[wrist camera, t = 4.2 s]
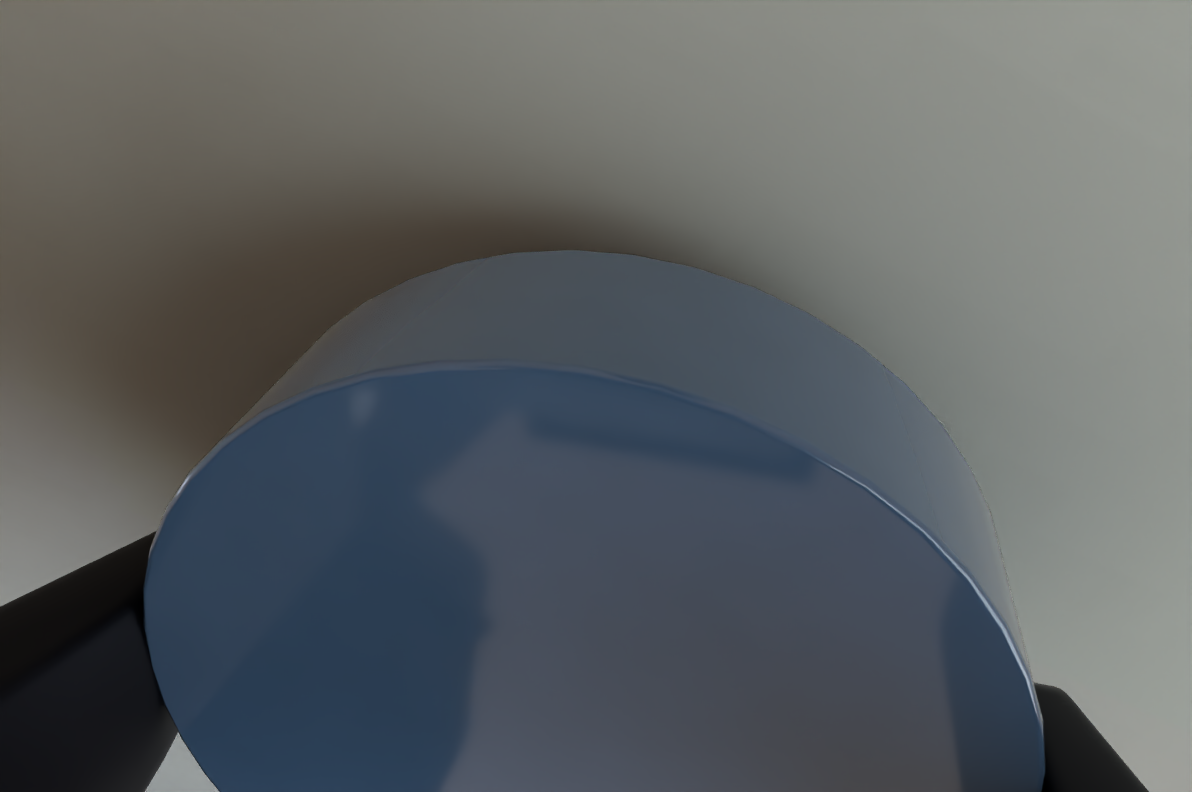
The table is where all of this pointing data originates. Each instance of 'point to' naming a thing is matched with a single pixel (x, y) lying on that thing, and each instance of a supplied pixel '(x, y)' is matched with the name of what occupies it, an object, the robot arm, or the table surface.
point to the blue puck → (589, 555)
